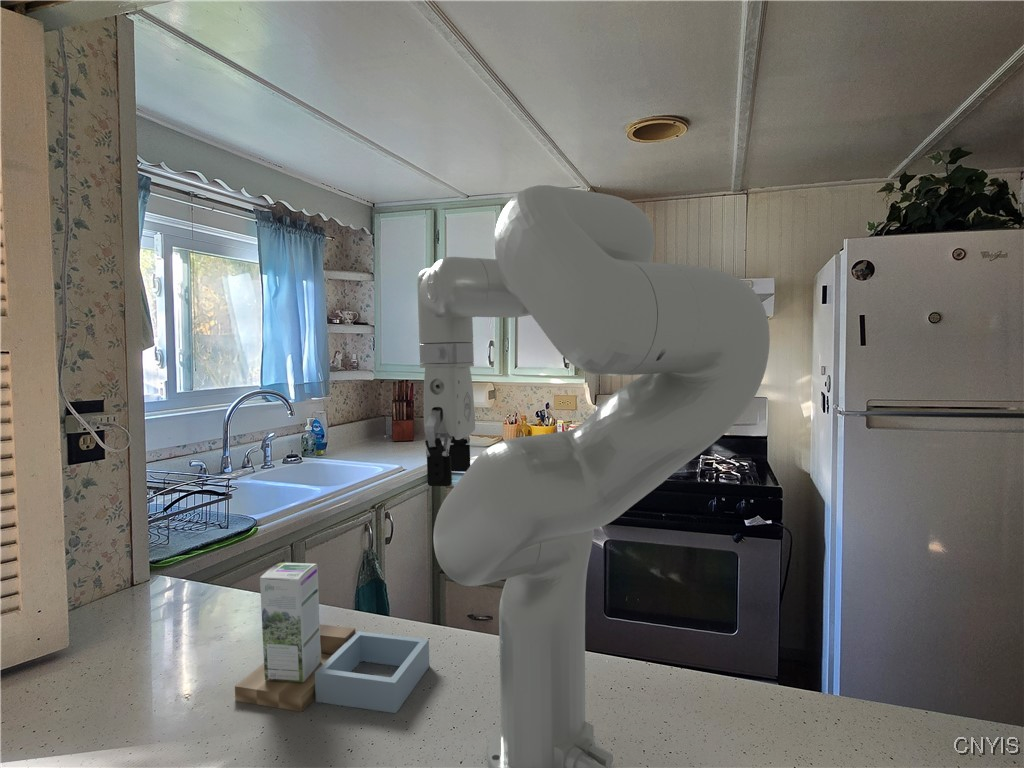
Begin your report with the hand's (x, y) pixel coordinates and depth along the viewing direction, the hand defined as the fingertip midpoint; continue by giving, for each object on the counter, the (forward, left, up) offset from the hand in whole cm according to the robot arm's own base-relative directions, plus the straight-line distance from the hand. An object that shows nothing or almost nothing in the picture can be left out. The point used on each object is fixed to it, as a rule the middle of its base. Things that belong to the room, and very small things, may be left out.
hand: (450, 478), depth 84 cm
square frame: (+5, +10, -28) cm, 30 cm away
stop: (+17, +12, -28) cm, 34 cm away
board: (+14, +18, -28) cm, 36 cm away
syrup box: (+13, +18, -26) cm, 34 cm away
